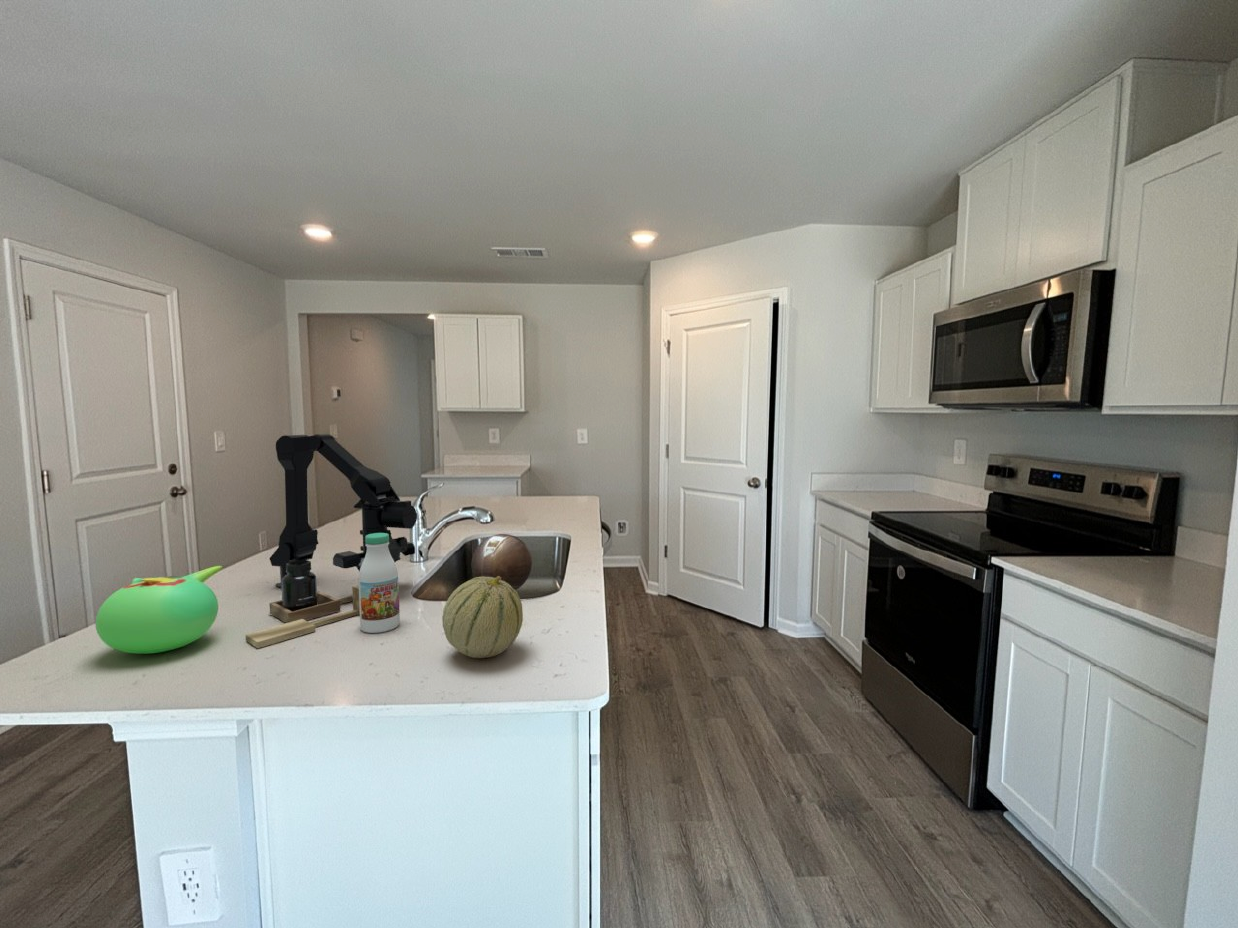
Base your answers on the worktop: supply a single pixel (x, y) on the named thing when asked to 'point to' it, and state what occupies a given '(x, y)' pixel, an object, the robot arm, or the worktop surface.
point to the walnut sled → (309, 608)
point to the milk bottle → (378, 587)
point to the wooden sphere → (503, 560)
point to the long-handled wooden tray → (298, 626)
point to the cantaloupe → (482, 617)
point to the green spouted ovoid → (158, 613)
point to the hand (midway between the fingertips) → (376, 587)
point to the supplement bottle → (299, 586)
